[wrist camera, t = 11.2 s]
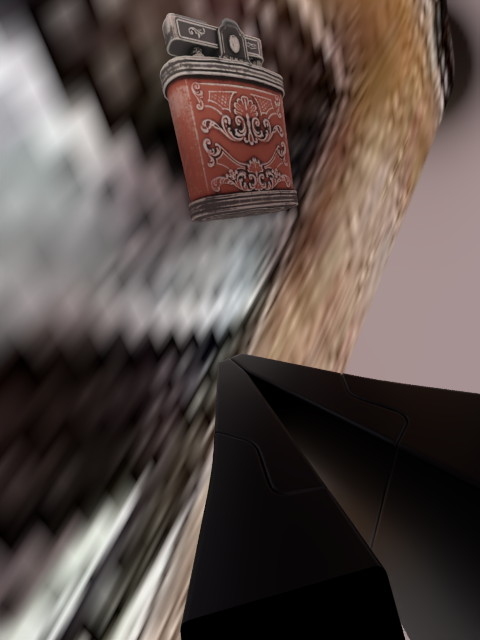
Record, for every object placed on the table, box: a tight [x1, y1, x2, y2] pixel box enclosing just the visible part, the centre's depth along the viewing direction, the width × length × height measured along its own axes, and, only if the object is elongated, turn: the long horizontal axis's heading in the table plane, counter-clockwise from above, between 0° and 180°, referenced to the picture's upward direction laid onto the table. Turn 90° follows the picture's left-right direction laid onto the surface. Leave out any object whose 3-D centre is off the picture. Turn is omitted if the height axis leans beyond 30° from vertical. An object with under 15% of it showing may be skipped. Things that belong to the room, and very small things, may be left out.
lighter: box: [160, 13, 298, 222], centre depth 16 cm, size 8×3×10 cm
